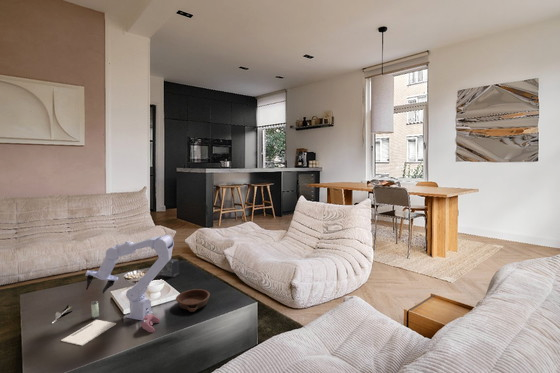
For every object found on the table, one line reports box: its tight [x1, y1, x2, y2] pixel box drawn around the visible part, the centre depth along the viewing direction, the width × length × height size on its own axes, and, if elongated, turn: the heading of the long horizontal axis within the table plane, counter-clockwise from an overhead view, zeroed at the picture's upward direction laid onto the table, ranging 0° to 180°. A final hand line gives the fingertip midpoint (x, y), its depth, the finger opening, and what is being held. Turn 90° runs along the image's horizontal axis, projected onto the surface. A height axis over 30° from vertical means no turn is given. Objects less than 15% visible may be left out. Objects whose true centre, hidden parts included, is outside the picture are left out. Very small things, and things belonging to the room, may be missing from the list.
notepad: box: [60, 319, 117, 347], centre depth 144 cm, size 12×18×1 cm, turn 162°
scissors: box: [50, 304, 73, 325], centre depth 161 cm, size 8×21×2 cm, turn 9°
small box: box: [160, 258, 180, 279], centre depth 211 cm, size 11×6×10 cm, turn 66°
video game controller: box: [141, 313, 161, 334], centre depth 146 cm, size 10×5×7 cm, turn 5°
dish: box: [175, 288, 211, 313], centre depth 169 cm, size 18×22×5 cm
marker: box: [90, 300, 100, 320], centre depth 157 cm, size 3×3×8 cm
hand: (95, 290), depth 158 cm, fingers open, 7 cm apart
